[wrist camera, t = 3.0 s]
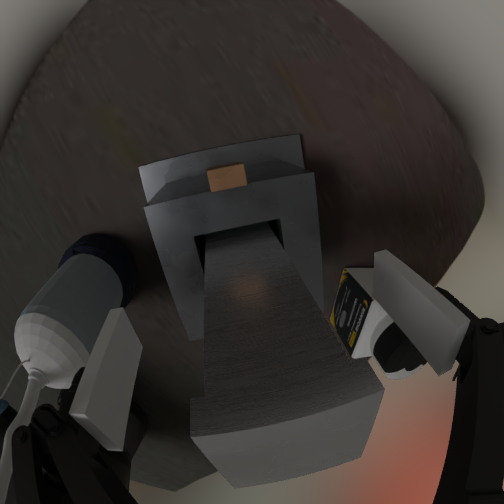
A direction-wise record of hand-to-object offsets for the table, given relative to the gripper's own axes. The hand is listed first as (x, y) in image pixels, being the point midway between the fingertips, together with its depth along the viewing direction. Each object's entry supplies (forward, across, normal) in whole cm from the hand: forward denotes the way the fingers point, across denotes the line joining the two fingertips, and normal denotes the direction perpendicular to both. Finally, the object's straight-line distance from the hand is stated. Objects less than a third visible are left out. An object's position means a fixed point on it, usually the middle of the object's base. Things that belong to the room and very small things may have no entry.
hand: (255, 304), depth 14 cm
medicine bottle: (+14, +13, -12) cm, 22 cm away
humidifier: (+14, -14, -2) cm, 20 cm away
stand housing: (+13, 0, 0) cm, 13 cm away
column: (+13, 0, 0) cm, 13 cm away
